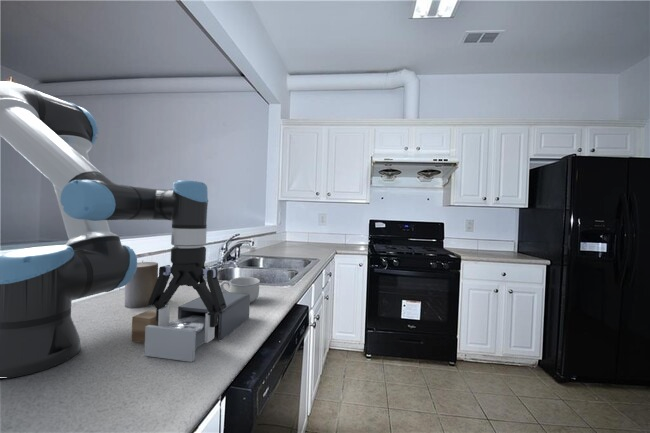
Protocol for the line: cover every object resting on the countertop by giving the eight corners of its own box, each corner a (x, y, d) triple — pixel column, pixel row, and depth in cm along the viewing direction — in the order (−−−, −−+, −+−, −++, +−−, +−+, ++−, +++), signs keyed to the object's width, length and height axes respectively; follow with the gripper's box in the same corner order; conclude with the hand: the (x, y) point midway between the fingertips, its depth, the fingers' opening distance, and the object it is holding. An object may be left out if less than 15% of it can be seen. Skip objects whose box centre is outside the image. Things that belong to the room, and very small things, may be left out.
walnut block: (149, 343, 68) (150, 318, 68) (131, 341, 68) (132, 316, 68) (164, 334, 72) (165, 311, 72) (147, 332, 73) (148, 310, 73)
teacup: (263, 298, 107) (263, 277, 107) (253, 307, 96) (253, 284, 96) (228, 296, 108) (228, 275, 108) (214, 305, 98) (215, 282, 98)
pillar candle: (162, 299, 102) (163, 258, 102) (149, 307, 92) (150, 262, 92) (133, 299, 100) (134, 258, 101) (117, 308, 91) (118, 262, 91)
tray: (191, 361, 59) (192, 332, 59) (144, 355, 61) (145, 326, 61) (222, 337, 72) (223, 312, 72) (182, 332, 74) (183, 308, 74)
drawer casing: (221, 340, 70) (222, 310, 70) (177, 335, 72) (178, 306, 72) (249, 318, 86) (249, 293, 86) (212, 314, 88) (213, 290, 88)
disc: (169, 340, 61) (169, 332, 61) (165, 327, 67) (165, 320, 67) (208, 332, 65) (208, 325, 65) (201, 321, 72) (201, 314, 72)
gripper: (243, 247, 68) (240, 335, 68) (157, 242, 72) (154, 326, 72) (227, 250, 61) (223, 350, 61) (132, 245, 65) (129, 338, 65)
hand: (186, 337), depth 66 cm, fingers open, 11 cm apart
